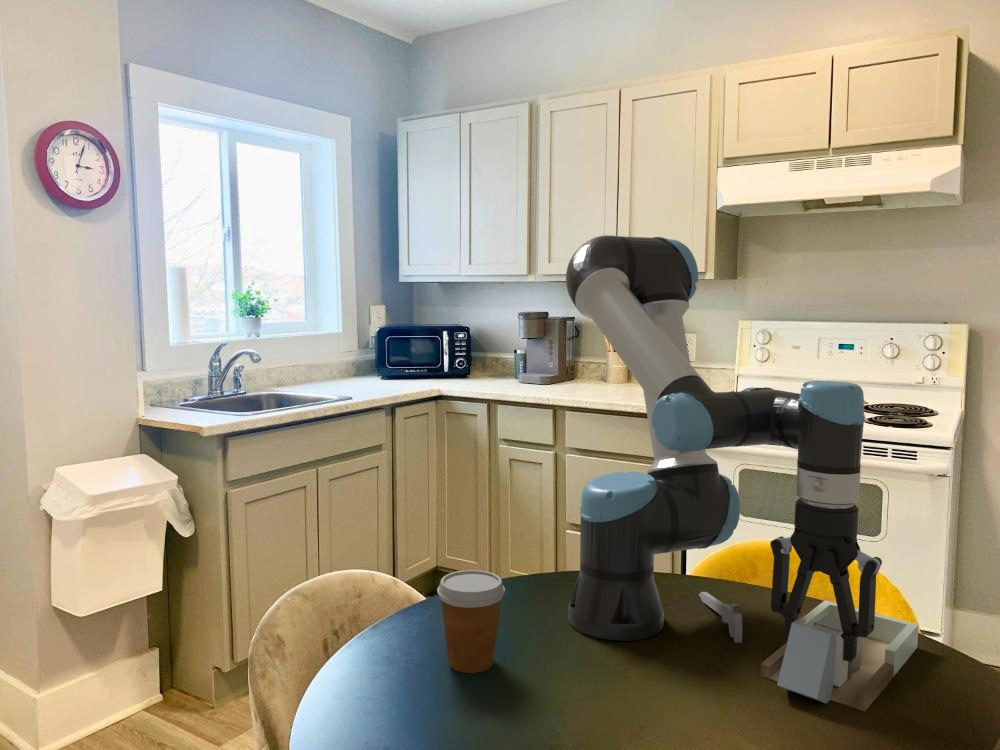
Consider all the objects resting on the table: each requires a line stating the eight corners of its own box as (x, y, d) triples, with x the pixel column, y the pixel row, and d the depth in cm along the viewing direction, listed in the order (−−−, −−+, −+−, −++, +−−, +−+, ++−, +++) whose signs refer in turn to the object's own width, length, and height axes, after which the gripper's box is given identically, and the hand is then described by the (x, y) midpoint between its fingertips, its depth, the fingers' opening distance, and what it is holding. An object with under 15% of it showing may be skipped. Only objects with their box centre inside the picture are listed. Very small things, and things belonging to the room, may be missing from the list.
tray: (794, 646, 112) (795, 623, 112) (823, 621, 121) (824, 600, 121) (893, 676, 103) (894, 651, 103) (917, 647, 112) (918, 624, 112)
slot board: (760, 680, 103) (760, 663, 103) (823, 626, 121) (824, 611, 121) (864, 717, 94) (865, 698, 94) (916, 652, 112) (917, 637, 112)
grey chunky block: (811, 664, 106) (813, 622, 106) (824, 655, 109) (826, 615, 109) (847, 677, 103) (850, 634, 102) (860, 668, 105) (862, 626, 105)
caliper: (742, 649, 113) (743, 608, 113) (734, 649, 113) (736, 608, 113) (704, 597, 134) (705, 562, 133) (698, 597, 134) (699, 562, 133)
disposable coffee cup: (423, 663, 108) (423, 580, 107) (471, 641, 115) (471, 564, 114) (470, 686, 101) (471, 599, 100) (518, 662, 108) (519, 580, 107)
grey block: (777, 685, 97) (791, 622, 99) (790, 691, 100) (804, 631, 102) (817, 699, 93) (831, 634, 96) (828, 705, 97) (842, 642, 99)
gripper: (747, 493, 102) (740, 661, 104) (893, 520, 89) (882, 710, 91) (770, 485, 107) (763, 644, 109) (912, 509, 95) (901, 688, 97)
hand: (817, 674), depth 100 cm, fingers closed on grey block, 5 cm apart
